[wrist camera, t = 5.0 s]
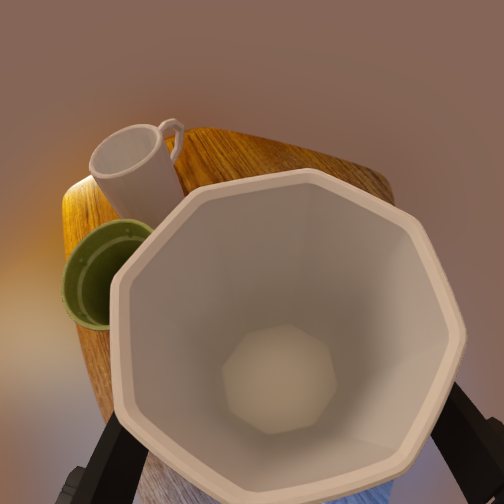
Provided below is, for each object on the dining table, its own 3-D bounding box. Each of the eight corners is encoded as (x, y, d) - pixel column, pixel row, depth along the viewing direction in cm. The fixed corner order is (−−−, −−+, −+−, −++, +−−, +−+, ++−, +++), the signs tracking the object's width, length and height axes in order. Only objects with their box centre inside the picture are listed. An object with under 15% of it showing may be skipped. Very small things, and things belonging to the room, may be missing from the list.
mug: (218, 176, 36) (204, 111, 27) (154, 247, 31) (117, 187, 23) (173, 158, 38) (154, 100, 30) (112, 219, 34) (75, 164, 25)
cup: (295, 296, 27) (316, 127, 11) (367, 390, 22) (518, 337, 6) (192, 360, 25) (61, 264, 9) (260, 464, 20) (225, 575, 4)
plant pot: (94, 313, 28) (45, 278, 20) (152, 251, 31) (118, 201, 23) (149, 375, 24) (100, 357, 17) (214, 302, 27) (190, 257, 20)
